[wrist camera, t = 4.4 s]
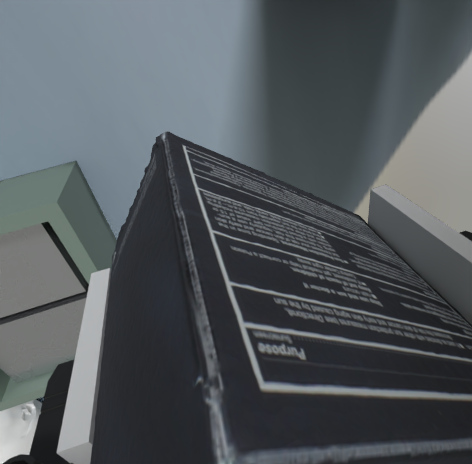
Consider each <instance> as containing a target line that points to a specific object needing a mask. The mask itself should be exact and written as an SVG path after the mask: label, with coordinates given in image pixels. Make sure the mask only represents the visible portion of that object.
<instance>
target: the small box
mask: <svg viewBox="0 0 472 464" xmlns="http://www.w3.org/2000/svg"><path fill="white" fill-rule="evenodd" d="M90 464H472V324H470V323H469V322H468V321H467V320H466V319H465V318H464V317H463V316H462V315H461V314H460V313H459V312H458V311H457V310H456V309H455V308H454V307H453V306H452V305H451V304H450V303H449V302H447V301H446V300H445V299H444V298H443V297H442V296H441V295H440V294H439V293H438V292H437V291H436V290H435V289H434V288H433V287H432V286H431V285H429V284H428V283H427V282H426V281H425V280H424V279H423V278H422V277H421V276H420V275H419V274H418V273H417V272H416V271H415V270H414V269H413V268H412V267H411V266H410V265H409V264H408V263H407V262H405V261H404V260H403V259H402V258H401V257H400V256H399V255H398V253H396V252H395V251H394V250H393V249H392V248H391V247H390V246H389V245H388V244H387V243H386V242H385V241H384V240H383V239H382V238H381V237H380V236H379V235H378V234H377V233H376V232H375V231H374V230H373V229H372V228H371V227H370V226H369V225H368V224H367V223H366V222H365V221H364V220H363V219H362V218H361V217H360V216H359V215H357V214H354V213H352V212H349V211H348V210H345V209H343V208H341V207H339V206H337V205H334V204H332V203H330V202H327V201H325V200H323V199H320V198H318V197H316V196H314V195H313V194H311V193H307V192H304V191H303V190H300V189H298V188H296V187H294V186H291V185H289V184H286V183H284V182H282V181H280V180H277V179H276V178H273V177H271V176H268V175H266V174H265V173H263V172H260V171H258V170H255V169H253V168H251V167H248V166H246V165H243V164H241V163H239V162H237V161H234V160H232V159H231V158H227V157H225V156H223V155H221V154H218V153H216V152H214V151H211V150H209V149H206V148H204V147H202V146H199V145H197V144H194V143H192V142H190V141H188V140H185V139H183V138H180V137H178V136H176V135H174V134H172V133H170V132H165V133H163V134H161V135H160V136H158V137H156V143H155V144H154V145H153V148H152V153H151V160H150V163H149V165H148V166H147V167H146V168H145V175H144V177H143V179H142V181H141V183H140V188H139V189H138V190H137V195H136V198H135V199H134V203H133V205H132V206H131V208H130V210H129V214H128V217H127V219H126V222H125V224H123V225H122V227H121V231H120V232H119V236H118V239H117V243H116V247H115V251H114V253H113V255H112V269H111V277H110V286H109V297H108V308H107V314H106V325H105V336H104V345H103V355H102V361H101V371H100V383H99V392H98V399H97V411H96V416H95V431H94V439H93V445H92V452H91V462H90Z"/></svg>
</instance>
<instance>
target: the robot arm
mask: <svg viewBox="0 0 472 464" xmlns="http://www.w3.org/2000/svg"><path fill="white" fill-rule="evenodd" d="M368 225H369V226H370V227H371V228H372V229H373V230H374V231H375V232H376V233H377V234H378V235H379V236H380V237H381V238H382V239H383V240H384V241H385V242H386V243H387V244H388V245H389V246H390V247H391V248H392V249H393V250H394V251H395V252H396V253H398V255H399V256H400V257H401V258H402V259H403V260H404V261H405V262H407V263H408V264H409V265H410V266H411V267H412V268H413V269H414V270H415V271H416V272H417V273H418V274H419V275H420V276H421V277H422V278H423V279H424V280H425V281H426V282H427V283H428V284H429V285H431V286H432V287H433V288H434V289H435V290H436V291H437V292H438V293H439V294H440V295H441V296H442V297H443V298H444V299H445V300H446V301H447V302H449V303H450V304H451V305H452V306H453V307H454V308H455V309H456V310H457V311H458V312H459V313H460V314H461V315H462V316H463V317H464V318H465V319H466V320H467V321H468V322H469V323H470V324H472V233H470V232H468V231H464V232H460V233H458V232H457V231H455V230H454V229H452V228H451V227H449V226H448V225H446V224H445V223H443V222H442V221H440V220H439V219H437V218H436V217H434V216H433V215H431V214H430V213H428V212H427V211H425V210H424V209H422V208H420V207H419V206H418V205H416V204H414V203H413V202H412V201H410V200H409V199H407V198H405V197H404V196H403V195H401V194H400V193H398V192H397V191H395V190H394V189H392V188H391V187H389V186H388V185H383V186H380V187H377V188H373V189H371V192H370V205H369V217H368ZM110 277H111V269H110V268H108V269H104V270H101V271H98V272H94V273H91V278H90V283H89V288H88V293H87V298H86V303H85V309H84V314H83V319H82V324H81V329H80V334H79V340H78V345H77V350H76V355H75V359H74V360H70V361H67V362H64V363H61V364H58V365H57V367H56V369H55V370H54V372H53V374H52V375H51V377H50V379H49V380H48V383H47V387H46V391H45V395H44V401H43V403H42V406H41V410H40V411H41V414H40V415H39V418H38V422H37V426H36V430H35V434H34V438H33V442H32V445H31V449H30V453H29V455H24V454H20V455H17V456H15V457H12V458H10V459H8V460H7V461H5V462H4V463H3V464H90V462H91V452H92V445H93V439H94V431H95V416H96V411H97V399H98V392H99V383H100V371H101V361H102V355H103V345H104V336H105V325H106V314H107V308H108V297H109V286H110Z"/></svg>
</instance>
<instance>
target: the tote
mask: <svg viewBox="0 0 472 464" xmlns="http://www.w3.org/2000/svg"><path fill="white" fill-rule="evenodd" d="M44 222H49V223H50V225H51V226H52V228H53V229H54V231H55V233H56V234H57V236H58V237H59V239H60V240H61V242H62V243H63V245H64V247H65V248H66V250H67V251H68V253H69V254H70V256H71V258H72V259H73V261H74V262H75V264H76V265H77V267H78V268H79V270H80V272H81V273H82V275H83V276H84V278H85V279H86V281H87V283H88V284H89V283H90V278H91V273H94V272H98V271H101V270H104V269H108V268H110V269H112V255H113V253H114V251H115V247H116V243H117V240H116V238H115V236H114V234H113V232H112V230H111V228H110V226H109V224H108V222H107V220H106V218H105V216H104V214H103V212H102V210H101V208H100V207H99V205H98V203H97V201H96V199H95V197H94V195H93V193H92V191H91V189H90V187H89V185H88V183H87V181H86V179H85V177H84V175H83V173H82V171H81V169H80V167H79V165H78V163H77V161H73V162H70V163H66V164H62V165H58V166H55V167H51V168H47V169H44V170H40V171H36V172H32V173H29V174H25V175H21V176H17V177H14V178H10V179H6V180H3V181H0V235H2V234H6V233H9V232H13V231H16V230H20V229H23V228H27V227H30V226H34V225H37V224H41V223H44ZM53 372H54V370H53V371H50V372H47V373H44V374H41V375H38V376H35V377H32V378H29V379H26V380H23V381H20V382H17V383H16V382H15V381H14V380H13V379H11V378H10V377H9V376H8V375H7V374H6V373H5V372H4V371H3V370H2V369H0V411H3V410H6V409H9V408H12V407H15V406H17V405H20V404H23V403H26V402H29V401H32V400H35V399H38V398H41V397H44V395H45V391H46V387H47V383H48V380H49V379H50V377H51V375H52V374H53Z"/></svg>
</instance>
